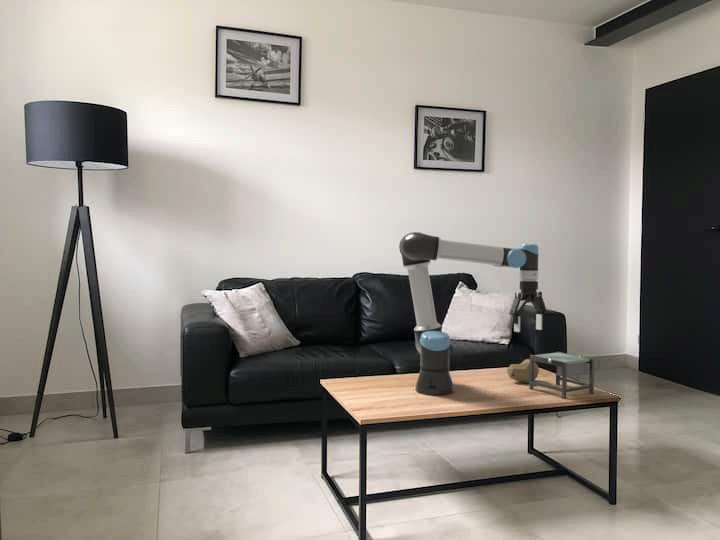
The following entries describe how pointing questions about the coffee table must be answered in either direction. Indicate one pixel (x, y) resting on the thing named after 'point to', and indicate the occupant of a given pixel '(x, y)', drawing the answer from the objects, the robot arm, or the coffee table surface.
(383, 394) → the coffee table surface
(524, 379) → the low-poly potato
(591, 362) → the stand
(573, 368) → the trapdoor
